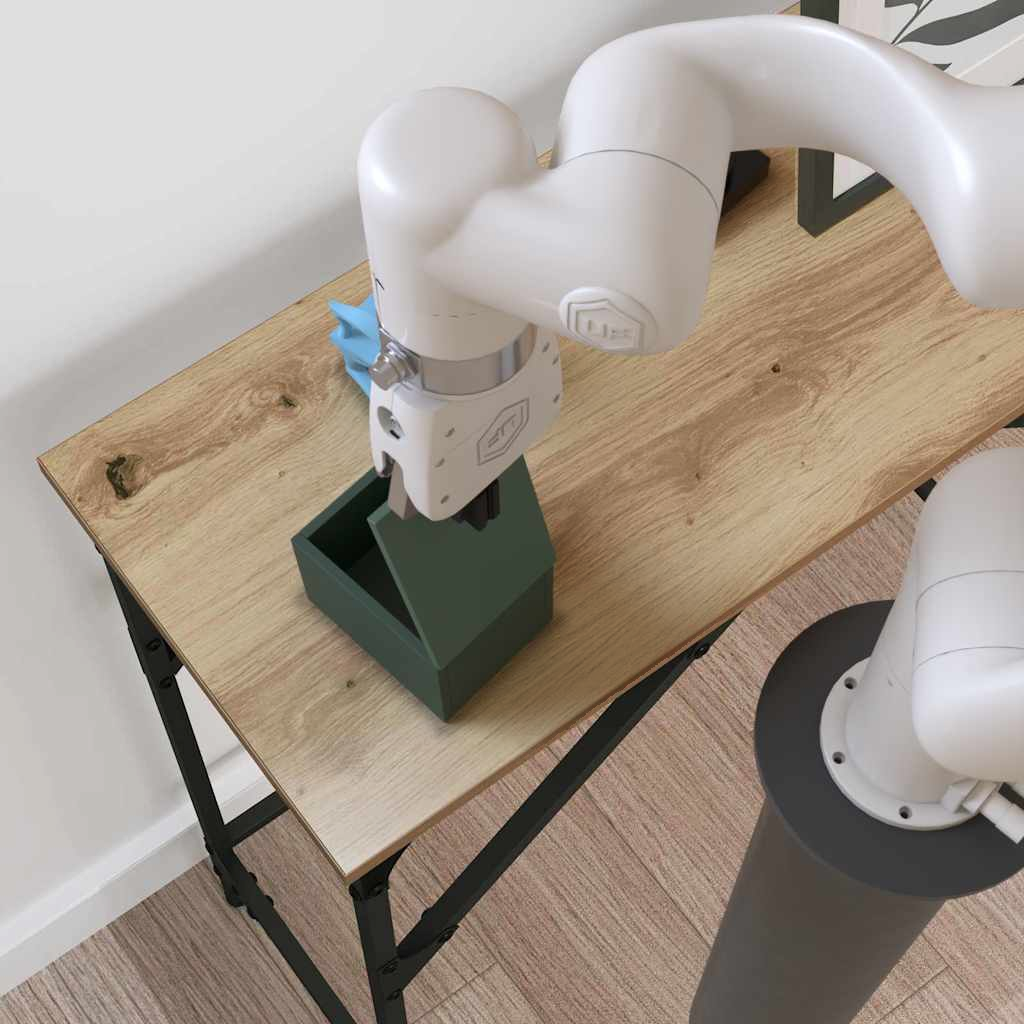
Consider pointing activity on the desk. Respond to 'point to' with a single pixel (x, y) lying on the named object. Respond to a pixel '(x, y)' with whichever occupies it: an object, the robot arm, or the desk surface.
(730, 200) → the push button base
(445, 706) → the green box
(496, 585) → the box lid
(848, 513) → the desk surface
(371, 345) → the chair
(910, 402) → the desk surface
